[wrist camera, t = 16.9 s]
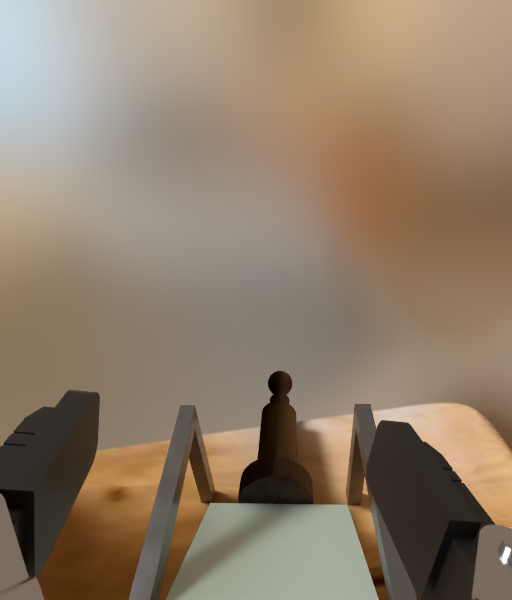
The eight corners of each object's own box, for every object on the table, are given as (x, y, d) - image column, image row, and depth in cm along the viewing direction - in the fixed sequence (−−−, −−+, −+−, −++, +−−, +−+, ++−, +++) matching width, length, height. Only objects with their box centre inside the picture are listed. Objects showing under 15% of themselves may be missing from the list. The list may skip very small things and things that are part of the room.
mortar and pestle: (297, 534, 36) (295, 402, 52) (325, 491, 33) (314, 364, 49) (229, 515, 36) (248, 387, 52) (251, 469, 33) (264, 348, 49)
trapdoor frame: (163, 727, 26) (109, 671, 19) (203, 490, 40) (180, 405, 33) (400, 742, 25) (438, 688, 18) (358, 492, 38) (370, 404, 31)
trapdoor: (157, 637, 21) (157, 617, 21) (210, 514, 35) (210, 502, 35) (388, 646, 20) (387, 625, 20) (348, 516, 34) (347, 504, 34)
